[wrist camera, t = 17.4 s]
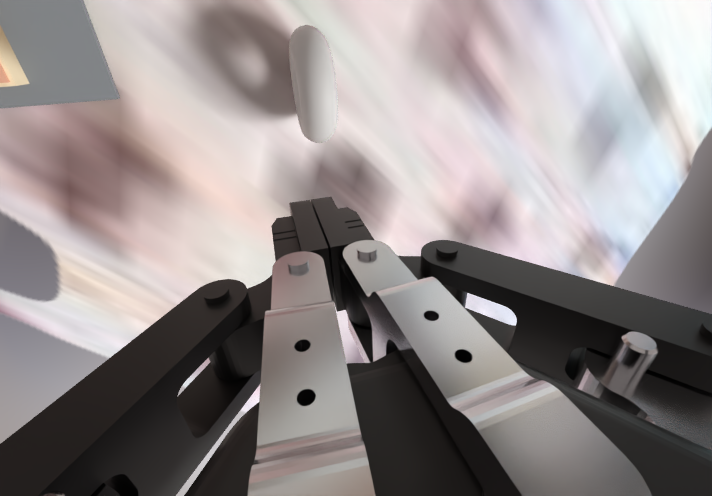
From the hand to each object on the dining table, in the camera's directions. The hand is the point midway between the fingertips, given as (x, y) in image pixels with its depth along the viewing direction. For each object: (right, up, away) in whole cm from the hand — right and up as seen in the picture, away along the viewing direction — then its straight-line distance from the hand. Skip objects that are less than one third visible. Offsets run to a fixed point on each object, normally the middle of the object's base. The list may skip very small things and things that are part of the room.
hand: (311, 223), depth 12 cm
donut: (-4, +17, +24) cm, 30 cm away
